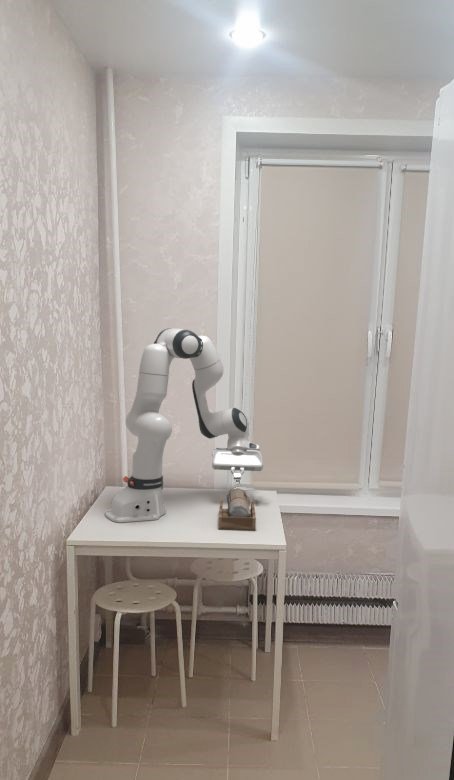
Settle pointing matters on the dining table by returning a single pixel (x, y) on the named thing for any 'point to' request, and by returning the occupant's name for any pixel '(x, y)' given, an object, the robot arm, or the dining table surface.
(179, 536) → the dining table surface
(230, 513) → the spray can
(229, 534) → the dining table surface
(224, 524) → the walnut trough
